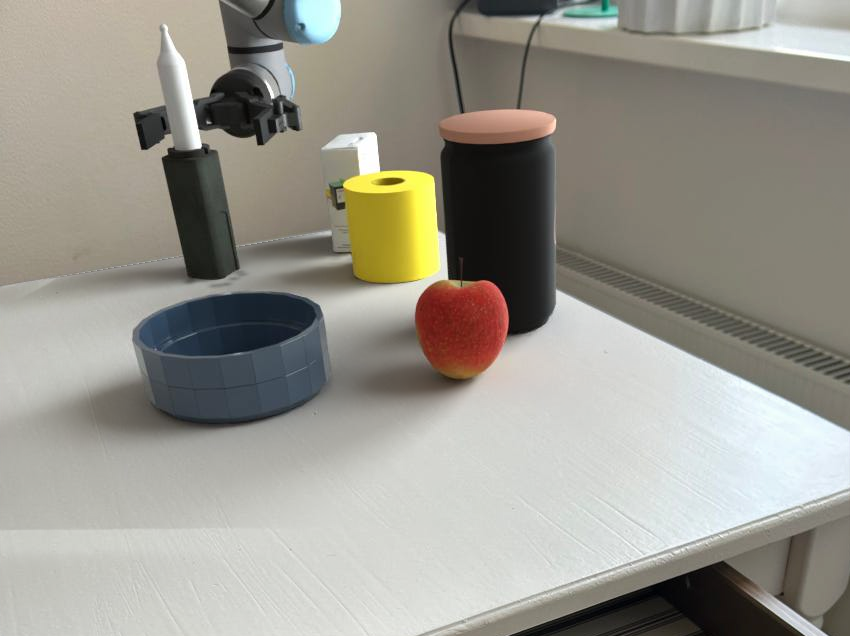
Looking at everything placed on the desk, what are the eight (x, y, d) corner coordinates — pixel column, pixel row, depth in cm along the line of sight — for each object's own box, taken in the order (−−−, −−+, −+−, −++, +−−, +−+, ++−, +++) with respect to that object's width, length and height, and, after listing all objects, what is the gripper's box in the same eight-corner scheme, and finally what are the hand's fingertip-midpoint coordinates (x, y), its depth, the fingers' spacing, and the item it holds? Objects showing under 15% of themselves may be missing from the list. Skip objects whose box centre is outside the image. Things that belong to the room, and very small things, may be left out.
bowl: (124, 429, 82) (104, 360, 79) (181, 355, 95) (166, 293, 91) (313, 425, 81) (301, 356, 77) (345, 351, 94) (336, 288, 90)
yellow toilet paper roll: (445, 255, 117) (440, 169, 111) (432, 282, 109) (426, 192, 103) (363, 256, 118) (354, 171, 112) (345, 283, 110) (333, 193, 104)
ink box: (349, 232, 126) (337, 131, 119) (387, 232, 125) (377, 131, 118) (332, 253, 119) (318, 147, 112) (371, 253, 119) (359, 146, 112)
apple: (406, 388, 86) (395, 273, 80) (437, 353, 92) (429, 244, 86) (493, 396, 84) (488, 278, 78) (519, 360, 90) (517, 248, 84)
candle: (220, 280, 113) (168, 26, 98) (183, 276, 115) (126, 27, 99) (244, 266, 117) (197, 20, 101) (207, 263, 118) (156, 20, 103)
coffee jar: (577, 319, 98) (580, 119, 87) (490, 346, 93) (481, 138, 82) (515, 293, 105) (510, 104, 94) (430, 316, 100) (415, 121, 89)
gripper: (342, 129, 129) (312, 166, 112) (159, 136, 131) (102, 174, 114) (335, 64, 125) (302, 92, 108) (144, 72, 126) (83, 102, 110)
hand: (199, 134), depth 111 cm, fingers open, 13 cm apart
